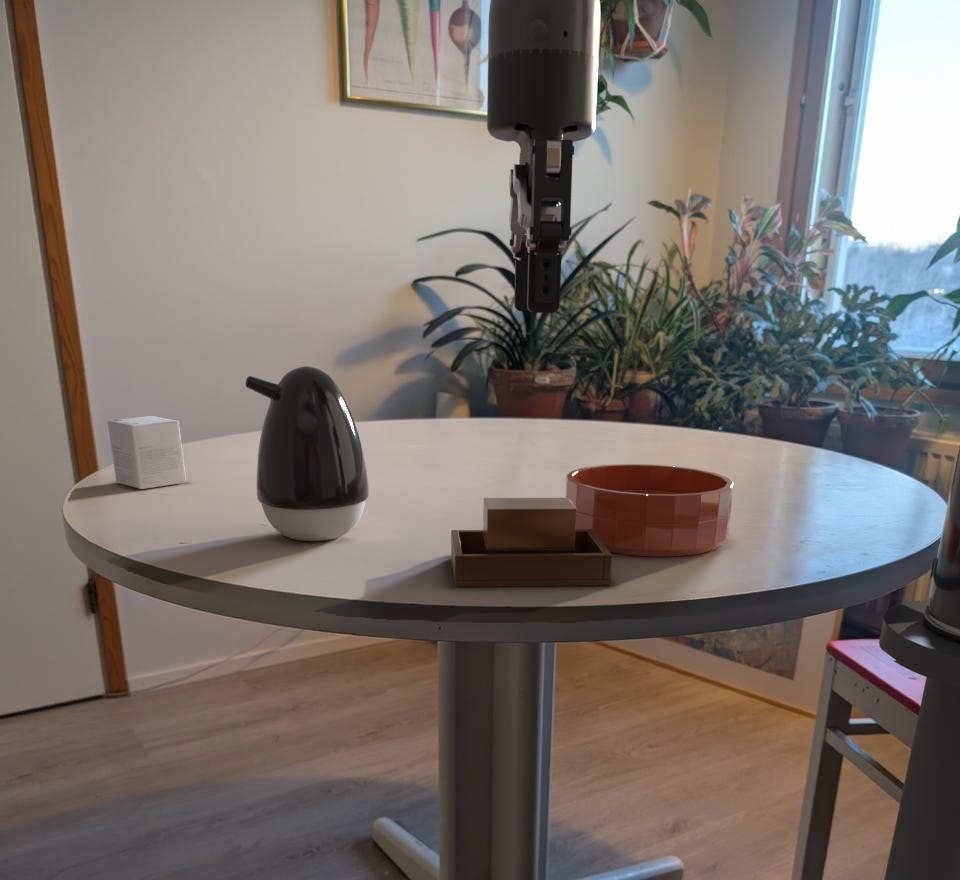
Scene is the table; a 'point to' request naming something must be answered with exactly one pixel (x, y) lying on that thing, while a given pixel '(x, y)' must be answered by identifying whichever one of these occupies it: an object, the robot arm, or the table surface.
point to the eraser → (528, 526)
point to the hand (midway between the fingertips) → (535, 311)
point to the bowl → (652, 508)
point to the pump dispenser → (309, 457)
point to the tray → (529, 563)
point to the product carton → (147, 451)
